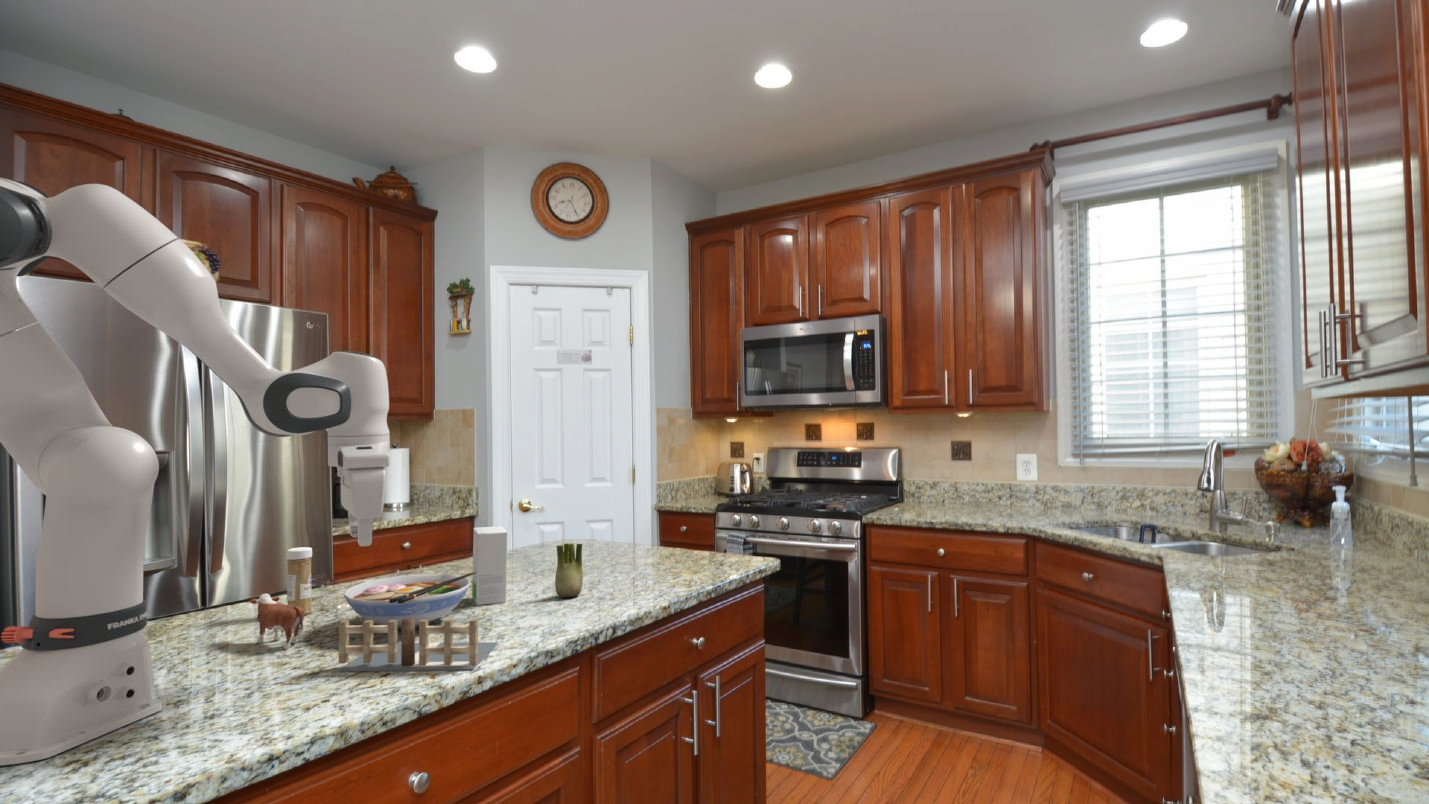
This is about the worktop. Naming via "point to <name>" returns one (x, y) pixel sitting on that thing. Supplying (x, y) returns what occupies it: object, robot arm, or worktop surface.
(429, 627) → the fixed fence panel
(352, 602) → the ramen bowl
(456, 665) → the card
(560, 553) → the fennel bulb
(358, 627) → the gate panel
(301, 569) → the spice jar
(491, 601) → the skincare box
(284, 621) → the bull figurine
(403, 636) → the corner post
